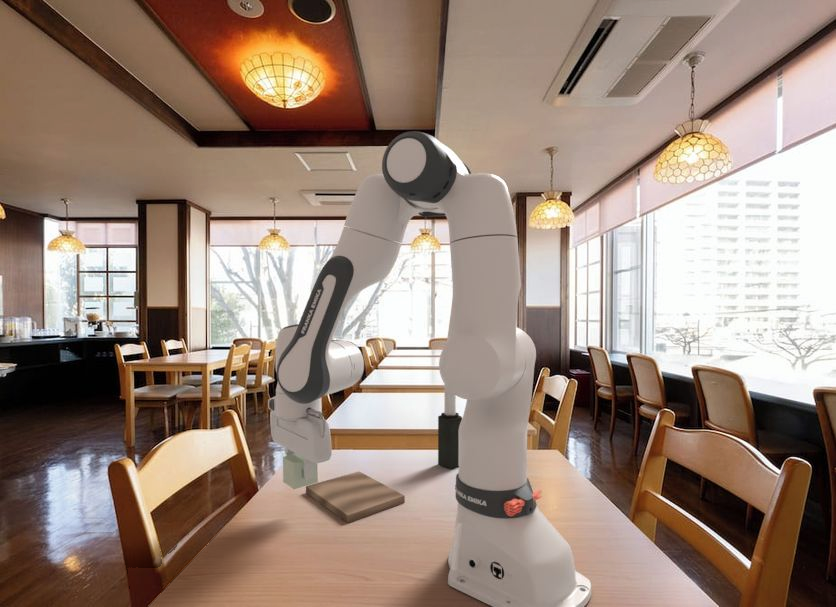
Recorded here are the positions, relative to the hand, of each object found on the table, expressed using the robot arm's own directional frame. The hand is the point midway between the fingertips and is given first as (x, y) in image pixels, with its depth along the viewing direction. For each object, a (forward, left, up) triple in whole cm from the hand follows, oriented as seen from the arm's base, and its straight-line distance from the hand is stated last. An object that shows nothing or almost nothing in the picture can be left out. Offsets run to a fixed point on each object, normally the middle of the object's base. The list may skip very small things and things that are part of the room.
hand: (300, 473), depth 91 cm
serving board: (+1, -13, -9) cm, 15 cm away
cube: (0, 0, -2) cm, 2 cm away
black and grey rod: (+2, -43, -9) cm, 44 cm away
